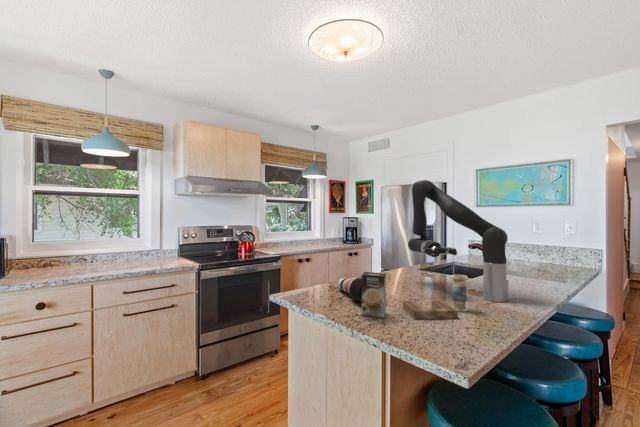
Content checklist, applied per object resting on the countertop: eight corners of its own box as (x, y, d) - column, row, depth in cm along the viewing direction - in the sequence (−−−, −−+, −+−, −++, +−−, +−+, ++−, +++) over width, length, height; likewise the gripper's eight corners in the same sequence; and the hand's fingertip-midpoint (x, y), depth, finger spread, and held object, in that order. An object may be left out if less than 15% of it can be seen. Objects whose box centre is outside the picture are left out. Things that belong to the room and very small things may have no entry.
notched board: (441, 307, 128) (442, 300, 128) (457, 318, 115) (457, 310, 115) (402, 308, 126) (402, 301, 126) (414, 319, 114) (414, 311, 113)
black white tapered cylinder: (343, 295, 162) (350, 277, 164) (375, 308, 130) (383, 285, 132) (327, 288, 159) (334, 270, 161) (355, 299, 127) (364, 276, 129)
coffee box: (360, 315, 118) (360, 274, 118) (363, 310, 124) (363, 271, 124) (384, 317, 115) (384, 276, 115) (386, 312, 121) (386, 272, 121)
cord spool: (462, 307, 128) (462, 274, 128) (470, 311, 122) (470, 277, 122) (448, 307, 128) (448, 274, 128) (455, 312, 122) (456, 277, 122)
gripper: (417, 241, 151) (431, 244, 135) (444, 241, 152) (462, 244, 136) (417, 255, 151) (431, 261, 135) (444, 255, 152) (461, 261, 136)
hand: (446, 253), depth 136 cm, fingers open, 8 cm apart
